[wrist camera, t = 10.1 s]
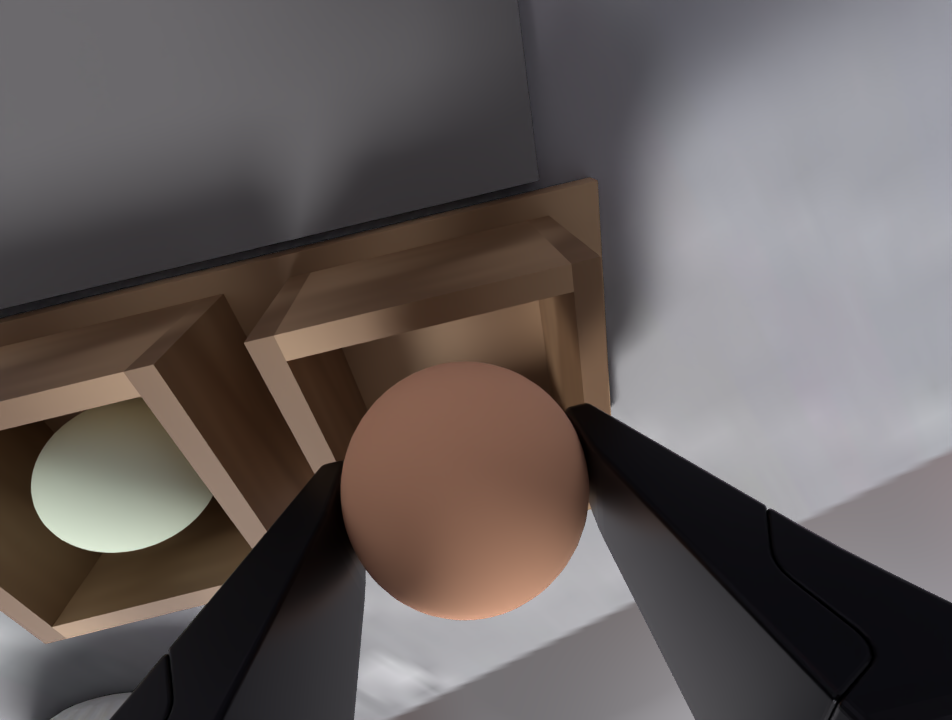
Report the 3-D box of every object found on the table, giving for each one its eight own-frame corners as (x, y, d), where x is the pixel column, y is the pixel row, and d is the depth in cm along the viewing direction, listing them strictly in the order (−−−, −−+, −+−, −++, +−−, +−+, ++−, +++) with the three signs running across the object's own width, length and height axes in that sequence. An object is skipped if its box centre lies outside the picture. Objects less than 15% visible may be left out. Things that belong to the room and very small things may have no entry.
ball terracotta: (538, 299, 8) (633, 442, 5) (558, 458, 10) (634, 638, 7) (324, 349, 8) (262, 529, 5) (388, 499, 10) (377, 703, 7)
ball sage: (197, 355, 13) (131, 444, 9) (259, 455, 15) (223, 559, 11) (56, 392, 13) (-66, 498, 9) (138, 489, 15) (64, 605, 11)
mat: (487, -204, 9) (491, -217, 8) (535, 178, 12) (539, 180, 12) (-288, -27, 8) (-317, -31, 8) (-8, 308, 12) (-20, 314, 12)
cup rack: (589, 177, 12) (670, 209, 8) (605, 413, 17) (663, 505, 13) (-90, 339, 12) (-319, 447, 8) (103, 536, 16) (11, 666, 13)
